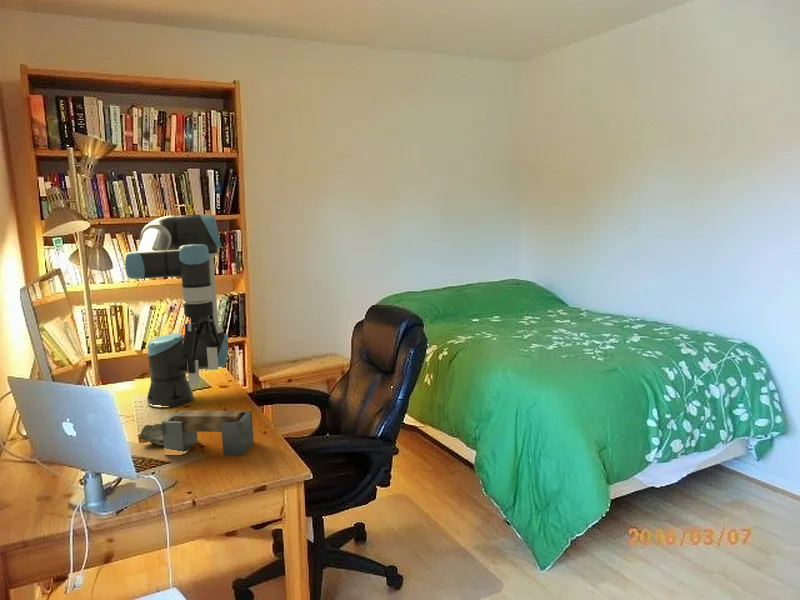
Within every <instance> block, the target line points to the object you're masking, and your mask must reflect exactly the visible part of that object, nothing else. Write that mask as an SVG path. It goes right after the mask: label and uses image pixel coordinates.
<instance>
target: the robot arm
mask: <svg viewBox="0 0 800 600" xmlns="http://www.w3.org/2000/svg"><path fill="white" fill-rule="evenodd" d="M216 219H217V218H216V217H215V216H214V215H212V214H186V215H166V216H161V217H159V218H156V219H154V220H152V221H150V222H149V223H148V224H146V225H144V227H143V228H142V230H141V232H140V234H139V241H140V243H139V247H138V250H135V251H130V252H127V253H126V254H125V256H124V265H125V272H126V276H127V277H128V278H129V279H131V280H133V279H135V280H136V279H137V280H138V279H139V280H144V279H158V278H172V277H173V278H174V277H181V283H182V284H181V286H182V289H181V291H180V292H181V293H182V297H183V302H184V304H183V311H184V313H183V314H184V316H185V317H186V318H189V319H190V323H185V324H184V335H183V334H182V333H169V334H166V335H161V336H158V337H156V338H153V339H151V340H150V341H148V345H147V357H148V362H149V363H148V364H149V365H148V366H149V374H150V375H149V376H150V385H149V388H148V389H149V390H148V393H147V397H146V400H147V404H148V403H149V404H152V405H161V406H169V408H174V407H175V408H176V407H180V406H183V405H186V404H188V403H190V402H191V401H193V399H194V392H193V389H192V387H191V385H200V383H201V382H200V372H199V370H208V371H209V370H211V371H212V370H215V371H216V370H217V371H218V370H219V368H223V367H225V366H226V364H227V361H228V360H227V359H228V351H229V350H228V349H229V348H228V347H229V346H228V345H229V335H228V334H226V333H224V328H222V327H221V326H220V325H219V314H218V302H217V287H216V275H215V262H214V259H215V257H216V256H217V255H218V249H221V248H222V243H221V238H220V234H219V229H218V225H217V220H216Z"/></svg>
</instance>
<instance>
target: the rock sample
mask: <svg viewBox="0 0 800 600" xmlns="http://www.w3.org/2000/svg"><path fill="white" fill-rule="evenodd" d="M140 437H141V438H142V439H143V441H146V442H149V443H151V444H153V443H155V445H158V446H160V445H164V444H163V433H162V423H156V424H152V425H150V424H146V425H144V427H142V429H141V432H140V434H139V438H140Z"/></svg>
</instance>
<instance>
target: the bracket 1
mask: <svg viewBox="0 0 800 600" xmlns="http://www.w3.org/2000/svg"><path fill="white" fill-rule="evenodd" d="M179 411H180V410H176V411H174V412H173V413H171V414H170V415H169V416H168V417H167V418H166V419H164V420H163V421H161V424H162V433H163V444H164V446H163V449H164V448H166V449H171V450H177V451H183V452H184V451H187V450H189V449H190V448H191V447H192V446H193V445H194V444H195V443H196V442H197V441H198V432H184V426H183V421H173V416H174V415H175V414H176V413H178V412H179ZM198 442H199V441H198ZM198 442H197V443H198ZM197 443H196V444H197ZM196 444H195V445H196ZM195 445H194V446H195ZM194 446H193V447H194ZM193 447H192V448H193ZM192 448H191V449H192ZM191 449H190V450H191ZM190 450H189V451H190Z"/></svg>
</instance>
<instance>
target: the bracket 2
mask: <svg viewBox="0 0 800 600" xmlns="http://www.w3.org/2000/svg"><path fill="white" fill-rule="evenodd" d="M240 411H241V414H242V418H241V419H240V420H239V421H222V422H221V431H222V432H221V445H222V455H223V456H224V457H227V456H229V457H231V456H232V457H235V456H236V457H244V456H245V454H246V453H247V452H248V450H249V449H250V448H251V446H252V445H253V444H254V442H255V440H254V439H255V438H254V425H253V411H252V410H240Z"/></svg>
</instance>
